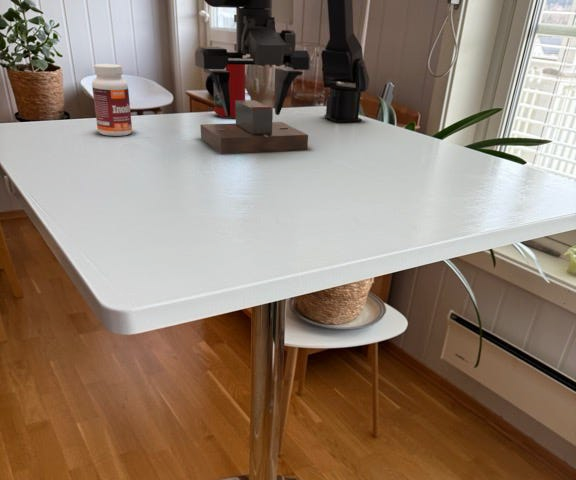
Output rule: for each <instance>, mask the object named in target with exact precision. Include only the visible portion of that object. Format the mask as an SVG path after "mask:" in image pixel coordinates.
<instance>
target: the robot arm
mask: <svg viewBox="0 0 576 480" xmlns="http://www.w3.org/2000/svg"><path fill="white" fill-rule="evenodd" d="M204 2H205V3H206V4H207V5H209V6H210V7H212V8H227V9H228V8H234V9H235V14H234V15H233V22H234V23H235V29H236V30H235V31H236V32H235V34H236V35H235V36H236V38H235V42H236V43H234V44H233V46H234V47H233V49H234V50H233V51H228V49H227V48H225V47H224V48H223V47H220V46H197V47H196V49H195V52H194V63H195V66H196V67H198V68H201V69H203V73H206V74H208V75H209V76H210V78H211V80H212V82H213V85H214V84H215V86H216V88H217V91H218V93H219V96H220V99H221V102H222V105H223V108H224V110H225V113H226V115H227V116H230V94H229V77H230V72H228V71H226V66H227V65H228V64H235V65H245V66H247V65H249V66H250V65H251V66H259V67H264V66H265V67H266V66H276V68H275V67H274V102H273V104H274V114H275V115H276V116H279V115H280V114H281V111H282V108H283V106H284V103H285V101H286V98H287V95H288V92H289V89H290V87H291V85H292V84H293V82H294V81H295V79H296V78H297V77H299V76H300V77H301V76H303V71H310V70H311V60H312V59H311V55H310V53H309V51H308V50H305V49H301V48H296V42H297V41H296V39H297V38H296V36H297V34H296V32H295V31H294V30H293V29H282V30H280V31H281V32H277V30H276V21H275V20H276V19H275V16H274V17H273V0H204ZM326 4H327V20H328V34H329V38H328V41H327V43H326V46H325V48H324V49H323V50H322V51H321V54H320V57H321V71H322V77H323V78H322V81H323V82H322V83H323V88H324V89H328V88H329V91H328V95H327V97H326V108H325V109H326V110H325V114H324V115H323V117H324V118H326V119H328V120H330V121H334V122H335V123H343V122H344V123H349V122H362V121H363V119H362V118H361V117H359V116H360V115H359V114H360V106H361V105H360V104H361V95H362V92H367V91H368V88H369V83H370V77H369V74H368V71H367V67H366V63H365V60H364V54H363V47H362V45H361V43H360V42H359V40H358V38H357V37H356V35H355V32H354V10H353V9H354V7H353V5H354V4H353V0H326ZM248 55H249V56H248ZM277 67H278V68H277Z"/></svg>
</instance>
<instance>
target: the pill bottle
mask: <svg viewBox="0 0 576 480" xmlns="http://www.w3.org/2000/svg"><path fill="white" fill-rule="evenodd" d="M93 69H94V74H95V75H96V78H94V79H93V80H92V82H91V87H92V94H93V95H92V96H93V103H94V112H95V119H96V128H97V131H98V133H99V134H100V135H102V136H103V135H104V136H109V137H111V136H112V137H114V136H115V137H120V136H121V137H123V136H127V135H130V134H132V132H133V125H132V124H133V123H132V114H131V102H130V93H129V92H130V91H129V85H128V82H127V81H126V80H125V79H124V78H122V77H123V76H122V75H123V67H122V65H121V64H117V63H116V64H114V63H95V64H94V65H93Z"/></svg>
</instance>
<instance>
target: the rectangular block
mask: <svg viewBox="0 0 576 480" xmlns="http://www.w3.org/2000/svg"><path fill="white" fill-rule="evenodd" d="M273 112H274V109H273V106H271V105H265V104H263V103H262V102H259V101H257V100H254V99H250V100H249V99H248V100H247V99H245V100H237V101H236V118H235V123H236V125H237V126H239V127H241V128H243V129H244V130H246V131H248V132H250V133H251V134H272V122H273V120H274V119H273V115H274V113H273Z"/></svg>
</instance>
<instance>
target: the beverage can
mask: <svg viewBox="0 0 576 480" xmlns="http://www.w3.org/2000/svg"><path fill="white" fill-rule="evenodd" d="M226 71H228V72H230V77H229V94H230V116H227V115H226V113H225V110H224V108H223V105H222V102H221V99H220V96H219V93H218V91H217V88H216V86H215V84H214V83H213V106H214V107H213V108H214V113H215V114H216V115H217V116H218V117H220V118H224V119H225V118H226V119H236V101H237V100H246V65H235V64H228V65H227V66H226Z"/></svg>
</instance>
